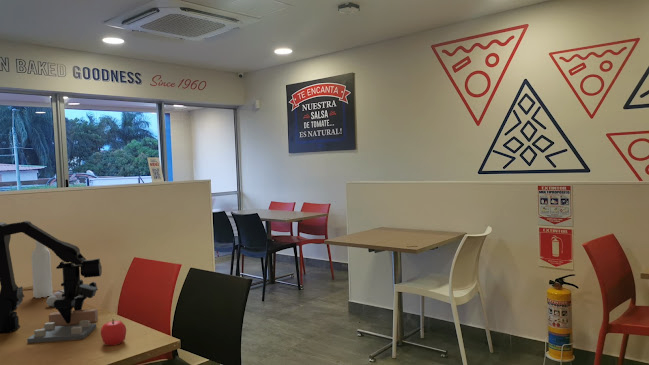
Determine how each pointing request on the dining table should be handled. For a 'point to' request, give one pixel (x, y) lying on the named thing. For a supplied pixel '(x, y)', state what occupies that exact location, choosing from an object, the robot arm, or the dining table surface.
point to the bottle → (41, 271)
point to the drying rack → (62, 332)
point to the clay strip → (74, 317)
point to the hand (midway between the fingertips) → (73, 319)
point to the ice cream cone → (54, 297)
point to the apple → (113, 332)
